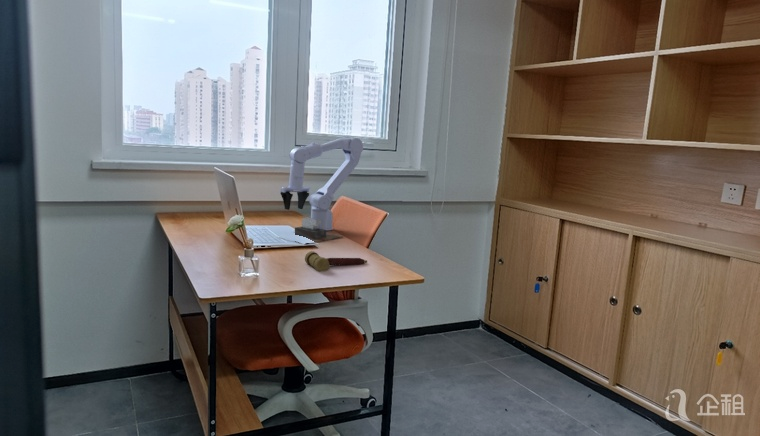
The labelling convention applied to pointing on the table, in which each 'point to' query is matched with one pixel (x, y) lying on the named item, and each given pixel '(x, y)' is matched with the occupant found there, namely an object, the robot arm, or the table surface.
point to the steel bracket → (310, 224)
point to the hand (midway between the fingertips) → (293, 209)
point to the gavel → (330, 261)
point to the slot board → (316, 234)
